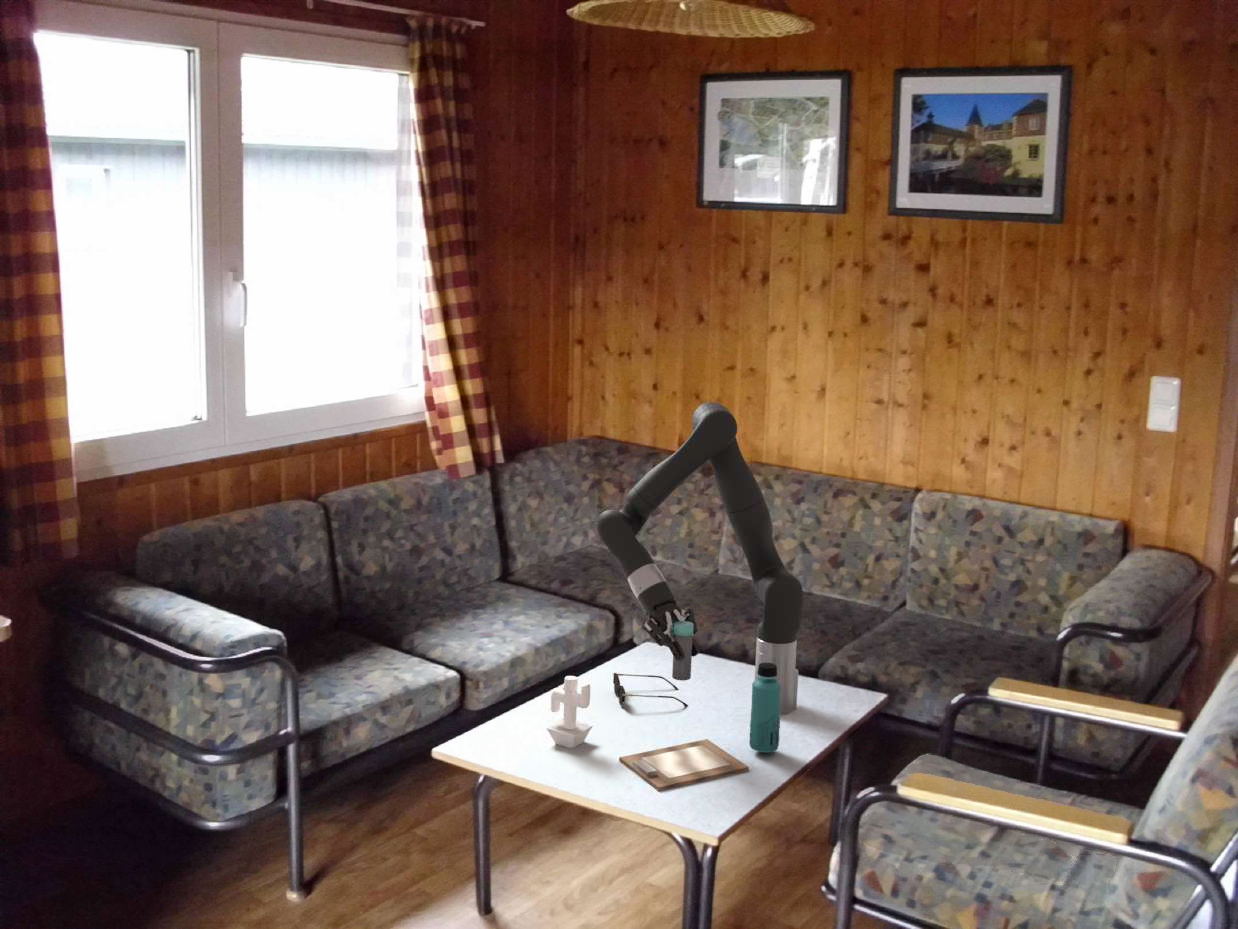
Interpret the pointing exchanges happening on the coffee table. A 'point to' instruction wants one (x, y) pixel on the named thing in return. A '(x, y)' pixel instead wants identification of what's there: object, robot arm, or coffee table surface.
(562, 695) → the figurine
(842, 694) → the coffee table surface
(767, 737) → the beverage bottle
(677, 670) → the grey capped container
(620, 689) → the sunglasses
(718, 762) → the clipboard
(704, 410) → the robot arm
